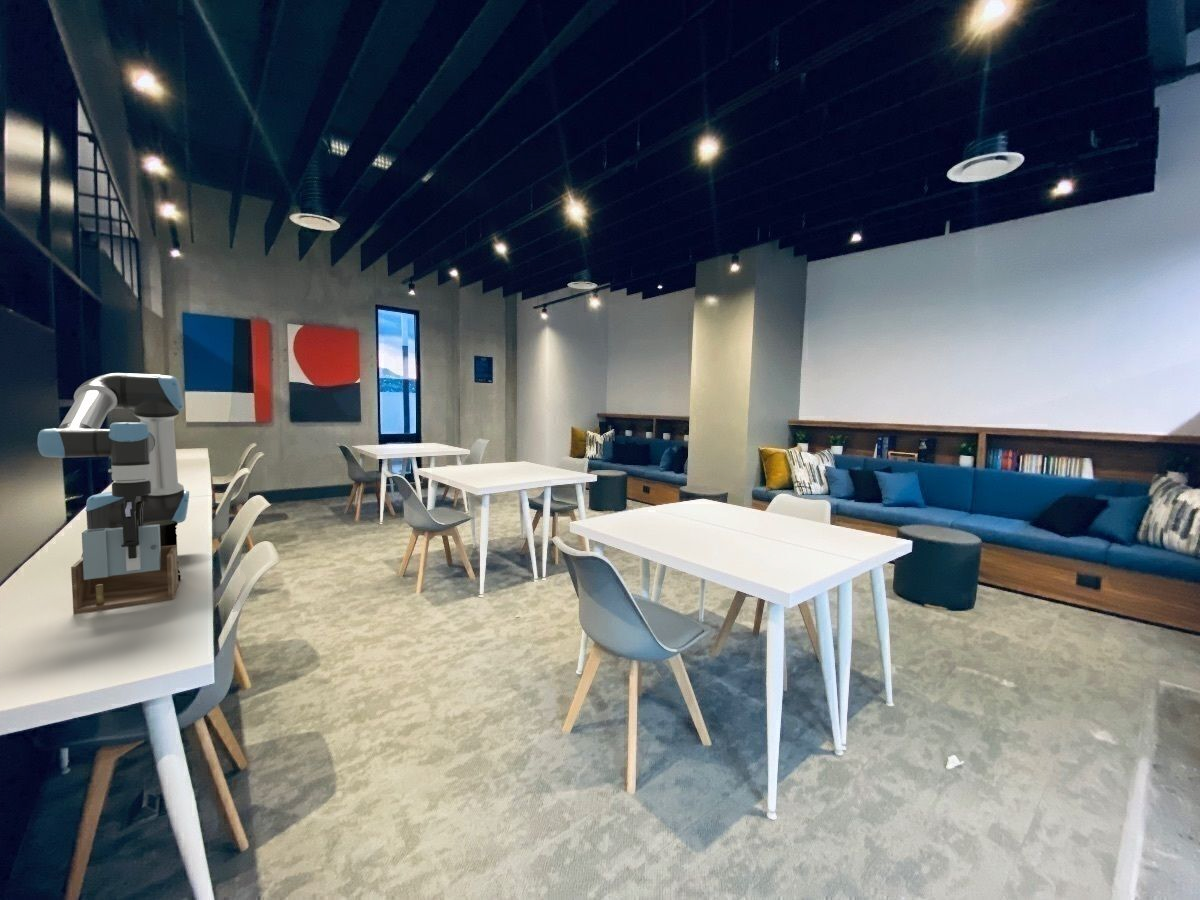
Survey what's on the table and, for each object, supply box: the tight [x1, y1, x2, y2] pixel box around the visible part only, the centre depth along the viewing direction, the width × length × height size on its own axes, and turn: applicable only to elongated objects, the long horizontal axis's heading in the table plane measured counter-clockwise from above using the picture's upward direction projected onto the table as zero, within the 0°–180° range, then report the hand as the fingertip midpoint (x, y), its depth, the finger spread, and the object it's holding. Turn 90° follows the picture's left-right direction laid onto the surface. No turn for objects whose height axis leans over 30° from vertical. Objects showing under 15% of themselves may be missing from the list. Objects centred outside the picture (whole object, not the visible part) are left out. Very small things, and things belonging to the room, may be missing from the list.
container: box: [143, 521, 182, 582], centre depth 149 cm, size 9×9×18 cm
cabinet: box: [70, 544, 179, 615], centre depth 136 cm, size 14×19×12 cm
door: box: [81, 524, 161, 580], centre depth 131 cm, size 5×14×12 cm, turn 125°
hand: (135, 567), depth 133 cm, fingers closed on door, 3 cm apart
